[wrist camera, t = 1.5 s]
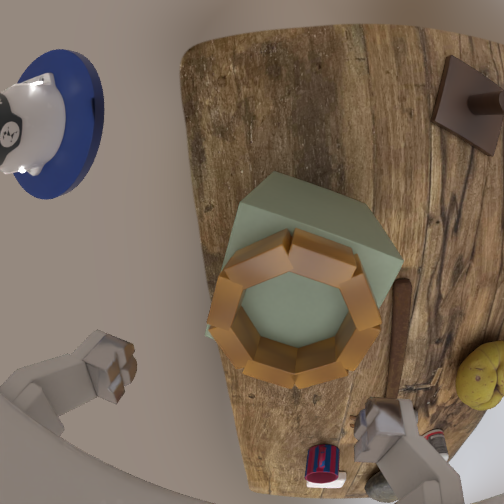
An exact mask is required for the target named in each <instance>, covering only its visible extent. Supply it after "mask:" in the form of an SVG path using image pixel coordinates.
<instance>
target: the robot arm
mask: <svg viewBox="0 0 504 504" xmlns="http://www.w3.org/2000/svg"><path fill="white" fill-rule="evenodd" d="M65 122H66V112H65V105H64V101H63V98H62V95H61V94H60V92H59V90H58V89H57V87H56V85H55V80H54V75H53V73H45V74H42V75H39V76H37V77H34V78H32V79H29V80H26V81H24V82H22V83H18V84H14V85H13V86H12V87H9V88H7V89H6V90H4V91H2V92H1V93H0V171H2V172H4V174H9V173H15V172H21V173H24V172H25V171H27V172H28V173H30V174H31V175H32V176H36V175H39V174H40V172H41V170H42V168H43V166H44V165H45V164H46V163H47V162H48V161H50V160H51V159H52V158H53V157H54V155H55V154H56V152H57V151H58V149H59V147H60V144H61V142H62V139H63V135H64V130H65ZM134 352H135V350H134V345H133V344H132V343H130V342H127V341H125V340H122V339H120V338H117V337H115V336H112V335H110V334H107V333H104V332H102V331H100V330H96V331H94V332H93V333H91V334H90V335H89V337H87V338H86V340H85V341H84V342H83V343H82V344H81V345H80V346H79V347H78V348H77V349H76V350H75V351H74V352H73V353H72V354H71V355H70V354H65V355H62V356H59V357H56V358H52V359H49V360H46V361H43V362H40V363H36V364H33V365H30V366H26V367H23V368H20V369H17V370H16V371H15V372H14V373H13V374H12V375H11V376H10V377H9V378H8V379H7V380H6V381H5V382H4V383H3V384H2V385H1V386H0V504H214V503H211V502H207V501H203V500H200V499H196V498H193V497H190V496H186V495H183V494H180V493H177V492H174V491H171V490H168V489H166V488H163V487H160V486H158V485H155V484H152V483H150V482H147V481H145V480H142V479H140V478H138V477H135V476H133V475H131V474H129V473H126V472H124V471H122V470H119V469H118V468H116V467H113V466H111V465H109V464H107V463H105V462H103V461H101V460H100V459H98V458H96V457H93V456H92V455H90V454H88V453H86V452H85V451H83V450H81V449H79V448H77V447H76V446H74V445H73V444H71V443H69V442H68V441H66V440H64V439H63V438H61V437H60V435H61V434H62V433H63V431H64V426H63V424H62V423H61V421H60V419H59V418H58V417H59V416H61V415H63V414H65V413H67V412H69V411H71V410H73V409H75V408H77V407H79V406H81V405H83V404H85V403H87V402H89V401H90V400H92V399H94V398H96V397H97V396H98V397H100V398H102V399H105V400H107V401H109V402H112V403H114V404H117V403H118V401H119V400H120V398H121V397H122V396H123V394H124V392H125V390H124V386H126V385H128V384H130V383H131V382H132V381H133V379H134V377H135V374H136V371H137V361H136V359H135V358H134V357H133V353H134ZM354 436H355V438H356V439H357V440H358V442H357V443H356V444H355V446H354V462H371V463H377V466H378V467H379V469H380V470H381V472H382V474H383V475H384V477H385V479H386V480H387V482H388V483H389V485H390V487H391V488H392V490H393V491H394V493H395V495H396V496H397V498H398V499H399V501H397V502H396V503H395V504H464V498H463V491H462V486H461V480H460V476H459V474H458V473H457V472H456V471H455V470H454V469H453V468H452V467H451V466H450V465H449V464H448V462H447V461H446V460H445V459H444V458H443V457H442V456H441V455H440V454H439V453H438V452H437V451H436V450H435V448H434V447H433V446H432V445H431V444H430V443H429V442H428V441H427V440H426V439H425V438H424V437H423V436H419V432H418V427H417V422H416V418H415V413H414V409H413V405H412V401H411V400H410V399H396V398H382V397H370V398H368V399H367V401H366V402H365V409H363V410H361V411H360V412H359V414H358V415H357V417H356V421H355V424H354ZM472 504H504V493H503V494H500V495H497V496H494V497H491V498H489V499H485V500H482V501H479V502H475V503H472Z"/></svg>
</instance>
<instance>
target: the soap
mask: <svg viewBox="0 0 504 504" xmlns="http://www.w3.org/2000/svg"><path fill="white" fill-rule="evenodd" d="M345 481H346V472H339V476H338V479H337V480H335V481H333V482H330V483H322V484H319V483H312V482H309V481H307V484H306V485H307V487H317V488H341V487H342V486H343V484H344V482H345Z"/></svg>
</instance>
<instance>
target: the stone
mask: <svg viewBox="0 0 504 504" xmlns="http://www.w3.org/2000/svg"><path fill="white" fill-rule="evenodd" d="M364 488H365V491H366V493H367V494H368V496H369V497H370V498H372V499H374V500H377V501H379V502H387V503H390V502H394V501H396V500H399V499H398V498H397V496H396V495H395V493H394V491H393V490H392V488H391V487H390V485H389V483H388V482H387V480H386V479H385V477H384V475H383V474H382V472H381V471H380V472H378V473H376V474H375V475H374V476H372V477H371V478H370V479H369V480H368V482H367V483H366V485H365V487H364Z"/></svg>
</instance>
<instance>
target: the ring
mask: <svg viewBox="0 0 504 504" xmlns="http://www.w3.org/2000/svg"><path fill="white" fill-rule="evenodd" d="M287 272H292V273H295V274H297V275H300V276H303V277H306V278H309V279H312V280H315V281H318V282H321V283H324V284H327V285H329V286H332V287H335V288H338V289H339V290H340V292H341V294H342V297H343V299H344V301H345V303H346V306H347V308H348V310H349V311H348V313H347V315H346V317H345V319H344V321H343V322H342V324H341V326H340V328H339V330H338V331H337V333H336V335H335V336H334V337H331V338H328V339H325V340H322V341H319V342H316V343H313V344H310V345H306V346H303V347H300V348H296V347H293V346H290V345H287V344H283V343H280V342H277V341H274V340H271V339H268V338H265V337H262V336H260V334H259V333H258V331H257V329H256V328H255V326H254V325H253V323H252V322H251V320H250V318H249V317H248V315H247V314H246V312H245V310H244V309H243V307H242V306H241V304H242V301H243V298H244V295H245V292H246V289H247V288H250V287H252V286H255V285H257V284H260V283H262V282H265V281H267V280H270V279H272V278H275V277H277V276H280V275H282V274H285V273H287ZM207 324H209V325H210V327H209V329H208V331H209V332H210V334H211V335H212V337H213V338H214V339H215V341H216V342H217V344H218V345H219V346H220V348H221V349H222V351H223V352H224V353H225V355H226V356H227V358H228V359H229V360H230V362H231V363H232V364H233V366H234V367H235V368H236V369H240V368H243V371H242V374H245V375H248V376H251V377H254V378H257V379H260V380H263V381H266V382H269V383H273V384H276V385H279V386H282V387H286V388H289V389H292V388H293V386H294V384H296V386H297V388H298V389H302V388H305V387H309V386H313V385H317V384H321V383H324V382H328V381H331V380H335V379H338V378H341V377H345V376H348V370H351V371H355V369H356V368H357V366H358V365H359V363H360V362H361V361H362V359H363V358H364V356H365V355H366V353H367V352H368V350H369V349H370V347H371V346H372V344H373V343H374V341H375V339H376V338H377V336H378V335H379V333H380V331H381V328H380V324H382V319H381V316H380V312H379V309H378V306H377V302H376V299H375V296H374V294H373V291H372V288H371V286H370V283H369V281H368V278H367V275H366V273H365V270H364V268H363V265H362V263H361V260H360V258H359V256H358V254H354V255H353V251H352V248H351V247H348V246H346V245H343V244H340V243H337V242H335V241H332V240H329V239H326V238H324V237H321V236H318V235H315V234H312V233H310V232H307V231H304V230H301V229H298V228H295V230H294V232H293V235H292V236H291V234H290V232H289V230H288V229H287V228H286V229H284V230H281V231H279V232H277V233H275V234H273V235H270V236H268V237H266V238H264V239H262V240H259V241H257V242H255V243H253V244H251V245H249V246H246V247H244V248H242V249H240V250H238V251H236V252H235V254H234V255H233V257H231V258H230V259H229V261H228V262H227V264H226V265H225V267H224V268H223V270H222V271H221V273H220V274H219V276H218V279H217V283H216V287H215V291H214V295H213V299H212V303H211V307H210V311H209V315H208V319H207Z"/></svg>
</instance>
